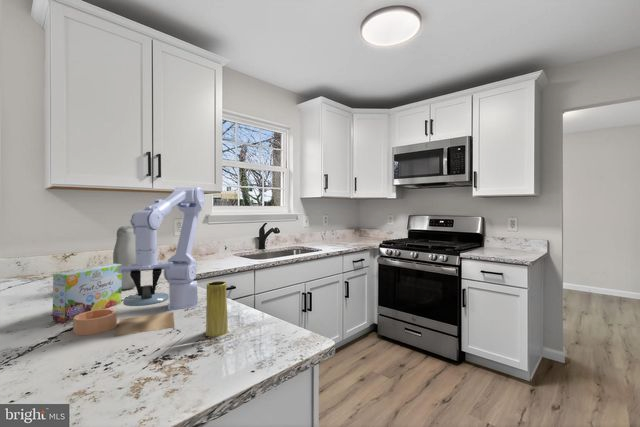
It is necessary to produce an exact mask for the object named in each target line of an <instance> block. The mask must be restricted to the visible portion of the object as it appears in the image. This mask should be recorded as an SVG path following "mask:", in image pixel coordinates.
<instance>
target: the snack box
mask: <svg viewBox="0 0 640 427" xmlns="http://www.w3.org/2000/svg"><path fill="white" fill-rule="evenodd" d="M121 265H122V264H113V263H107V264H102V265H96V266H95V265H94V266H91V267H85V268H79V269H73V270H68V271H63V272H57V273H53V274H52V278H53V279H52V321H53V322H60V323H67V322H70V321H73V318H74V317H75V316H76V315H78V314H81V313H83V312H87V311H92V310H98V309H110V308H111V307H114V306H117V305H120V304H122V289H121V288H122V273H118V266H121Z"/></svg>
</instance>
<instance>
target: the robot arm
mask: <svg viewBox="0 0 640 427" xmlns="http://www.w3.org/2000/svg"><path fill="white" fill-rule="evenodd" d="M204 203H205V193H204V190H203V189H202V187H200V186H196V187H178V186H177V187H175V188H173V189H172V191H171V194H169V195H168V196H167V197H166V198H165V199H160V198H156V199H155V200H154V202H153V203H151V204H150V205H147V206H145V208H144V209H142V210H136V211H134V212H133V214H132V215H131V219H130V220H129V222H130V226H131V227H133V233H134V235H135V254H136V264H131V265H121V266H118V273H122V272H130V276H131V278H132V279H133V281H134V283H135V285H136V286H135V288H136V291H137V295H138V296H141V286H142V283H141V280H142V279H141V278H142V272H145V271H147V272H148V271H152V272H151V274H152V295H153V294H155V293H156V292H155V291H156V287H157V285H158V281H159V279H160V276H161V275H162V273H163V277H164V279H165V281H167V282H166V283H168V286H169V291H168V292H169V293H168V295H169V298H168V300H169V302H168V305H167V309H168V311H172V310H179V309H188V308H189V309H190V308H196V307H198V301H199V295H198V281H197V280H194V279H196V277H197V260H196V259H195V258H194V257H193V256H192V252H193V246H194V242H195V238H196V237H195V236H196V232H197V228H198V227H197V226H198V222H199V217H200V213H201V212H202V211H203V207H204ZM176 206H177V209H178V210H179V211H180V212H182V213H183V214H184V215H183V220H182V225H181V228H180V232H179V238H178V241H177V242H178V243H177V247H176V250H175V254H174V255H172V256H170V257H169V258H168V259H167V261H166V262H162V261H161V262H158V229H159V228H160V227H161V225H162V222H163V220H164V219H165V218H166V217H167V216H169V215H170V214H171V213H172V211H173V208H174V207H176ZM162 270H163V271H162Z"/></svg>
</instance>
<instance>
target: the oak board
mask: <svg viewBox="0 0 640 427" xmlns="http://www.w3.org/2000/svg"><path fill="white" fill-rule="evenodd" d="M174 314H175V313H174V312H173V311H172V312H164V313H159V314H149V315H141V316H134V317H127V318H120V320H119V322H118V324H117V326H116V330H115V332H114V334H113V337H118V336H119V337H121V336H125V335H133V334H139V333H146V332H152V331H157V330H166V329H171V328H175V316H174Z"/></svg>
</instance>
